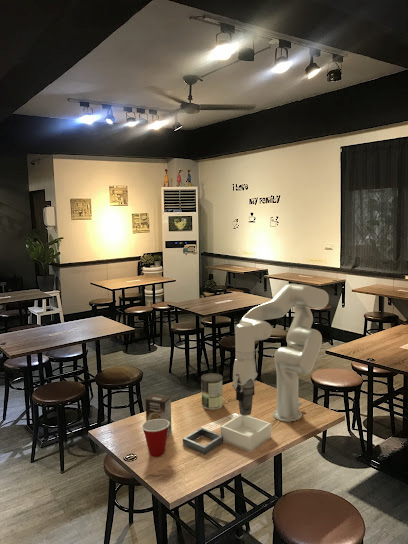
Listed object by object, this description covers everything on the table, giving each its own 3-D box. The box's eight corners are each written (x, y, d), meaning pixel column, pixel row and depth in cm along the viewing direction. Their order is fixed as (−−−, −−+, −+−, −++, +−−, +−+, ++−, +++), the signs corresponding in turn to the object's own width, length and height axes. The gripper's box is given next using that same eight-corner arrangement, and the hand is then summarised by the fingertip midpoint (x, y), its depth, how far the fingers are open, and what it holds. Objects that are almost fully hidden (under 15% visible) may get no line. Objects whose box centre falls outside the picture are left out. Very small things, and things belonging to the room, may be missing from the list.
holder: (201, 434, 183) (201, 427, 182) (223, 442, 175) (223, 435, 175) (183, 445, 174) (182, 438, 174) (204, 455, 167) (204, 447, 166)
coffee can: (198, 408, 207) (197, 379, 205) (205, 399, 217) (205, 372, 215) (219, 411, 204) (218, 382, 202) (225, 402, 213) (225, 374, 211)
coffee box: (146, 435, 182) (144, 399, 180) (153, 428, 188) (151, 392, 186) (166, 439, 179) (164, 401, 177) (172, 431, 185) (171, 395, 183)
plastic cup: (159, 442, 177) (158, 414, 175) (176, 452, 169) (175, 423, 167) (136, 453, 169) (135, 423, 168) (153, 464, 162) (152, 433, 160)
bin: (241, 426, 188) (241, 413, 187) (271, 437, 179) (271, 423, 178) (220, 440, 177) (220, 426, 176) (250, 452, 168) (250, 437, 167)
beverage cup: (253, 417, 172) (253, 368, 170) (235, 416, 174) (234, 367, 171) (255, 409, 179) (255, 362, 177) (237, 408, 181) (237, 361, 178)
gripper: (249, 347, 182) (250, 388, 185) (224, 358, 169) (224, 402, 171) (265, 350, 177) (265, 392, 180) (239, 362, 164) (240, 407, 167)
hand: (245, 397), depth 176 cm, fingers closed on beverage cup, 6 cm apart
